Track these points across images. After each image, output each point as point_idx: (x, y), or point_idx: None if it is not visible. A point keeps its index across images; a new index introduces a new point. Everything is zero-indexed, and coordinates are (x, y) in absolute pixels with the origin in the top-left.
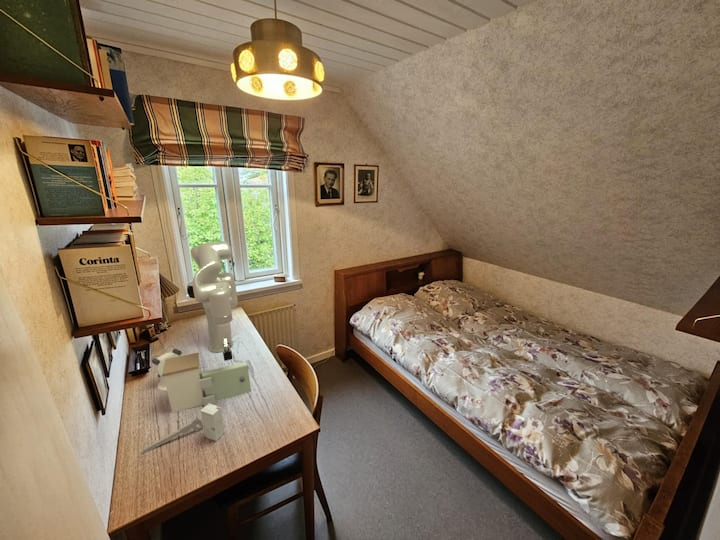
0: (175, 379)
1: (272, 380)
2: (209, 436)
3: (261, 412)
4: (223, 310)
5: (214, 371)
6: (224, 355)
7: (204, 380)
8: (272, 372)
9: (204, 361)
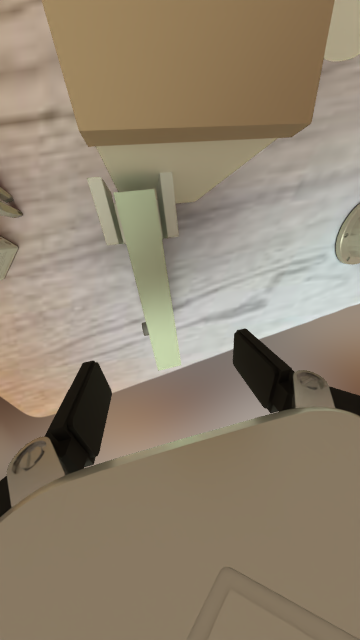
0: None
1: None
2: None
3: (79, 347)
4: None
5: (144, 258)
6: (69, 402)
7: (96, 209)
8: (201, 353)
9: (326, 185)
